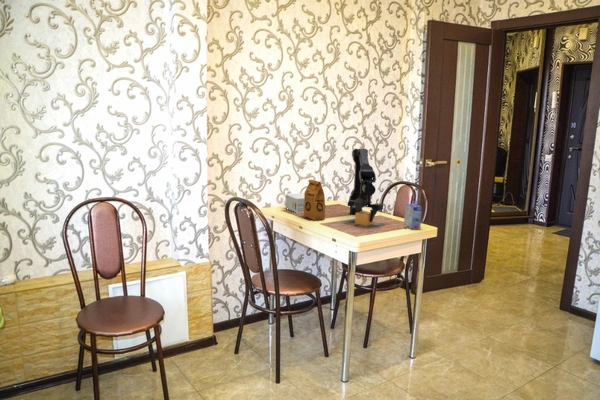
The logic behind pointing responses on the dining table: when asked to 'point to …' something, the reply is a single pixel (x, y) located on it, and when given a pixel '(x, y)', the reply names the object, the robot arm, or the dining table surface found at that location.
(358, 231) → the dining table surface
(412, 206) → the ink cartridge box
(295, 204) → the supplement box
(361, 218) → the tan orange cube
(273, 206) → the dining table surface
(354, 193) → the robot arm
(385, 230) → the dining table surface
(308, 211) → the coffee package
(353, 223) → the board
